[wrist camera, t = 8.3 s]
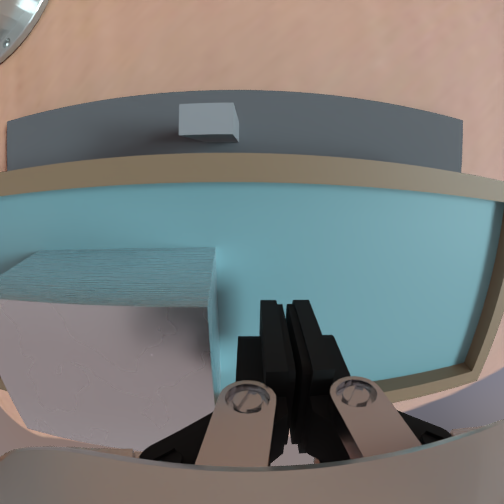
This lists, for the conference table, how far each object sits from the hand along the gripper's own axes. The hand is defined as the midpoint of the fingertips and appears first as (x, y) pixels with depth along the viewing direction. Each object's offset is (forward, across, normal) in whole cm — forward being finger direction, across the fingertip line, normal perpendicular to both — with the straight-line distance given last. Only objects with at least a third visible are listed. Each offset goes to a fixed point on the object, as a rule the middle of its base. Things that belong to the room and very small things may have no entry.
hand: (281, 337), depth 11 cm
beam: (+3, +3, 0) cm, 4 cm away
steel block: (+2, +6, 0) cm, 7 cm away
